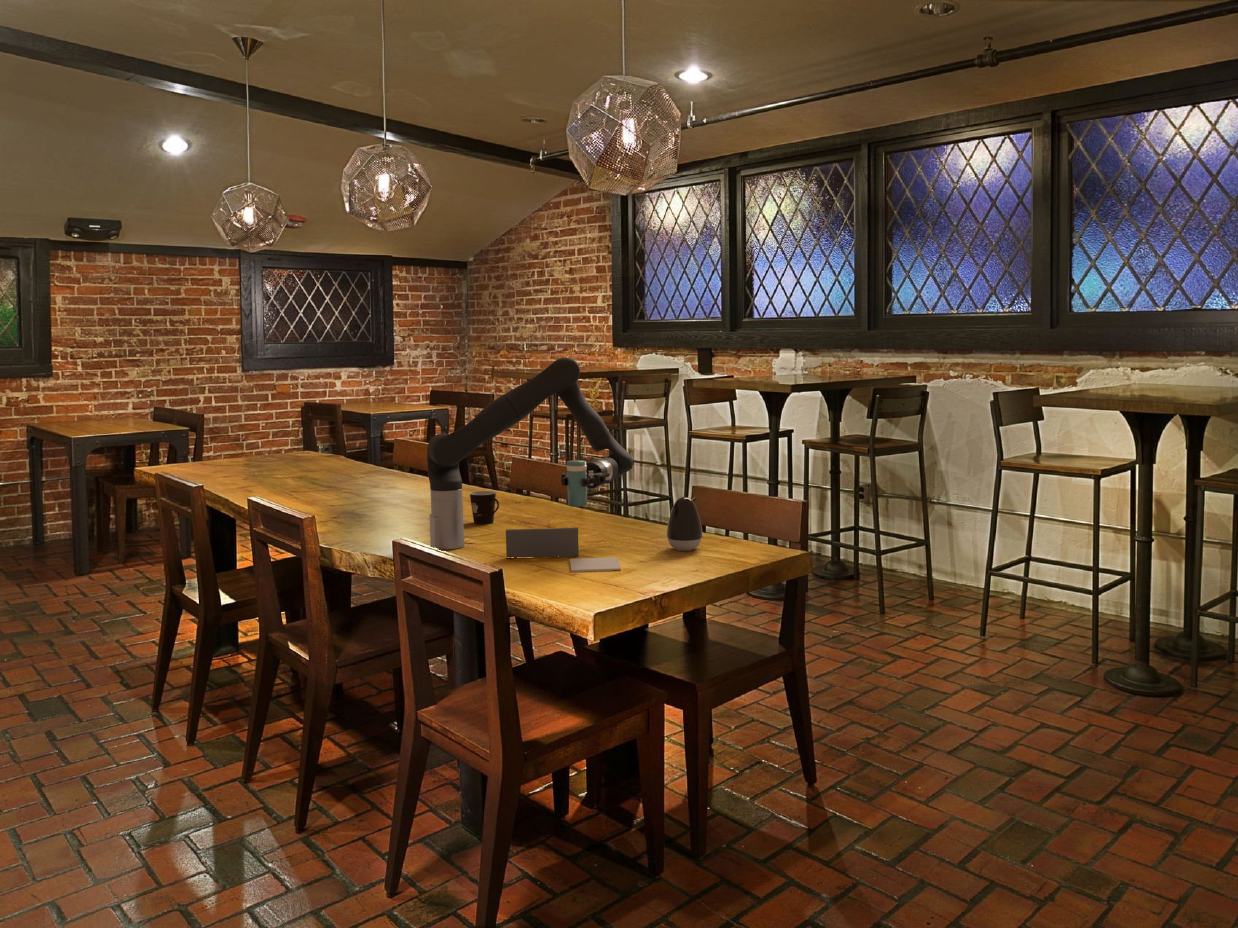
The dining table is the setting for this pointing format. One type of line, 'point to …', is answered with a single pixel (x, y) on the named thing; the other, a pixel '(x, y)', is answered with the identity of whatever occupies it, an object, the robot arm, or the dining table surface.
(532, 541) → the screen
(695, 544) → the black egg-shaped body
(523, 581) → the dining table surface
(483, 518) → the coffee mug
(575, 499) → the canister
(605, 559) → the pad
